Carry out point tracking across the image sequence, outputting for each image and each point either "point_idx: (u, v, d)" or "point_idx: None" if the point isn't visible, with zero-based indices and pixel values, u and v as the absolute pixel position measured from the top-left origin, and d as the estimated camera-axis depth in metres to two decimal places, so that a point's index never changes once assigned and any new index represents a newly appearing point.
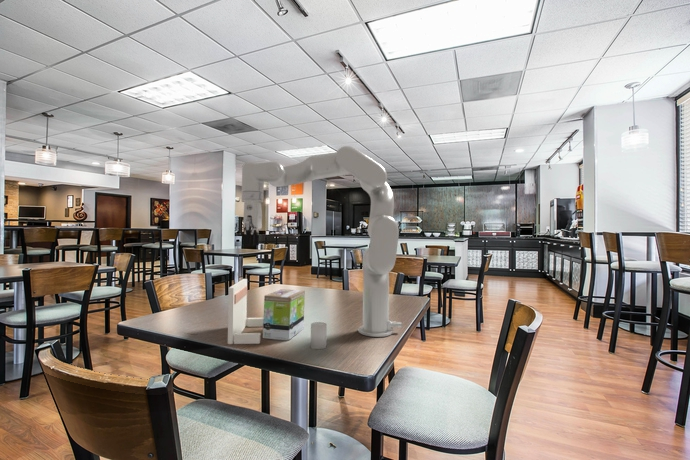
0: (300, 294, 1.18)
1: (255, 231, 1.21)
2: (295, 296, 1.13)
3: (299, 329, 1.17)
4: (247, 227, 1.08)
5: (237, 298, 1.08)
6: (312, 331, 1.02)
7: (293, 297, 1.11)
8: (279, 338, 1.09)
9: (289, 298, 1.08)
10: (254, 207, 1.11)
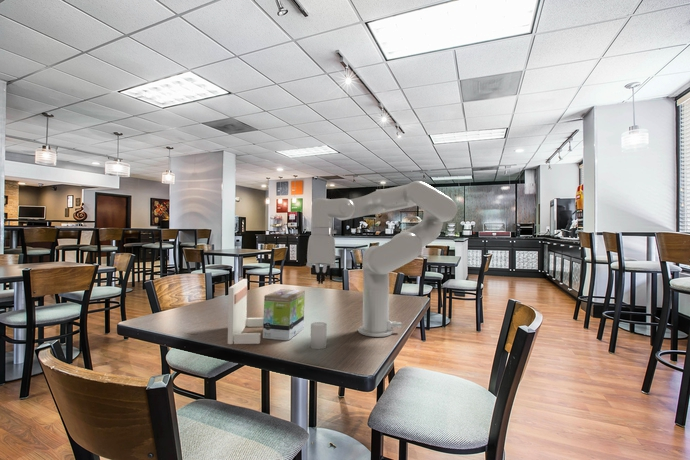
0: (300, 294, 1.18)
1: None
2: (295, 296, 1.13)
3: (299, 329, 1.17)
4: (330, 267, 1.18)
5: (237, 298, 1.08)
6: (312, 331, 1.02)
7: (293, 297, 1.11)
8: (279, 338, 1.09)
9: (289, 298, 1.08)
10: None
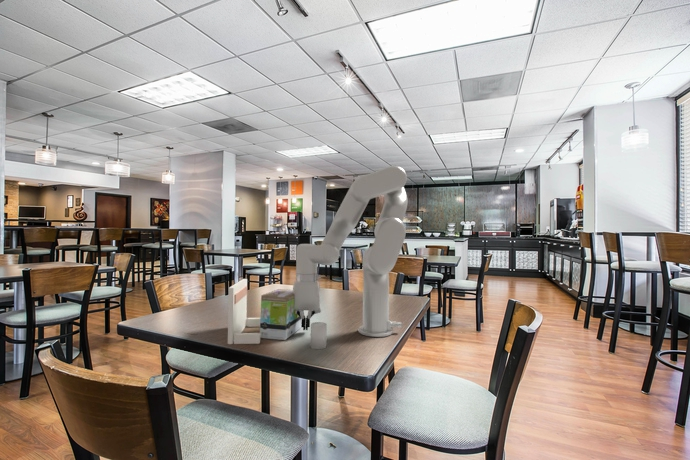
0: None
1: None
2: (292, 296, 1.13)
3: (296, 329, 1.18)
4: None
5: (237, 298, 1.08)
6: (312, 331, 1.02)
7: (290, 297, 1.11)
8: (276, 338, 1.09)
9: (286, 298, 1.09)
10: None
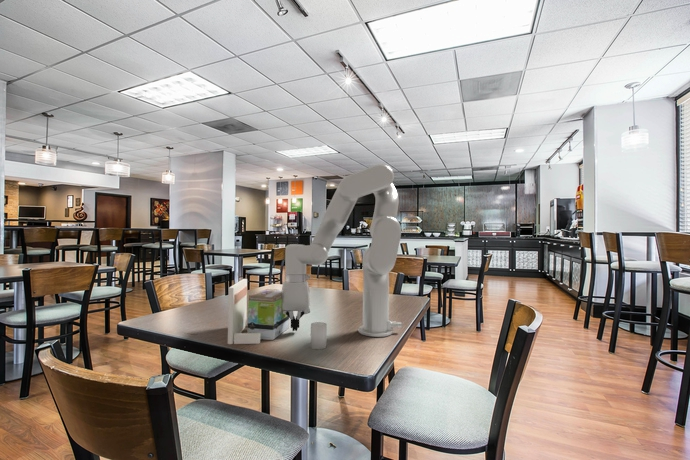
0: None
1: None
2: (280, 296, 1.13)
3: (284, 328, 1.18)
4: None
5: (237, 298, 1.08)
6: (312, 331, 1.02)
7: (278, 297, 1.11)
8: (263, 338, 1.09)
9: (273, 298, 1.09)
10: None
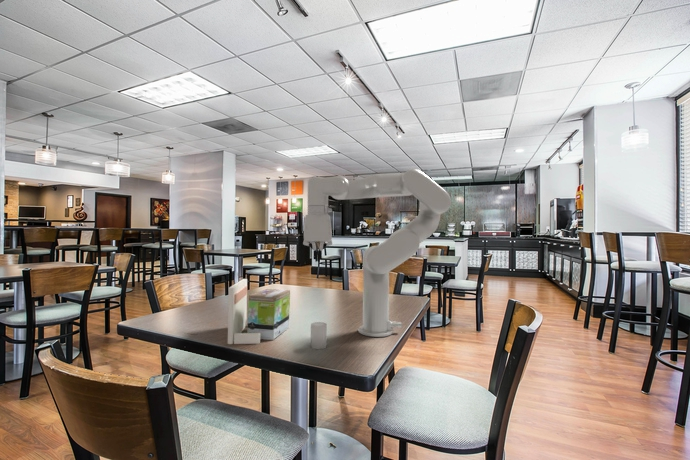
0: (285, 294, 1.18)
1: None
2: (280, 296, 1.13)
3: (284, 328, 1.18)
4: (326, 245, 1.19)
5: (237, 298, 1.08)
6: (312, 331, 1.02)
7: (278, 297, 1.11)
8: (263, 338, 1.09)
9: (274, 298, 1.09)
10: None
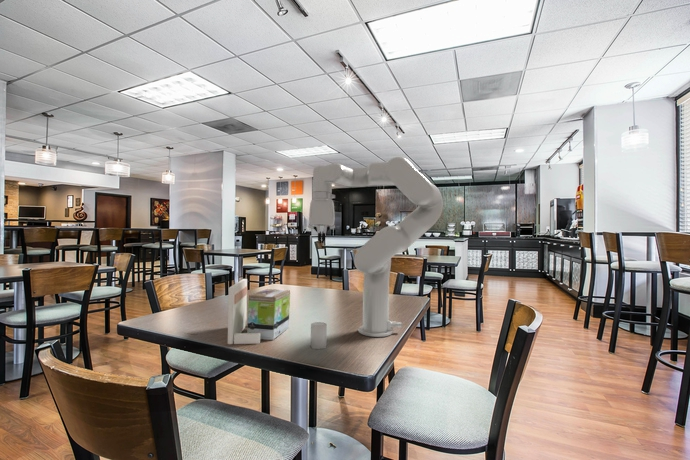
0: (285, 294, 1.18)
1: None
2: (280, 296, 1.13)
3: (284, 328, 1.18)
4: None
5: (237, 298, 1.08)
6: (312, 331, 1.02)
7: (278, 297, 1.11)
8: (263, 338, 1.09)
9: (273, 298, 1.09)
10: None
